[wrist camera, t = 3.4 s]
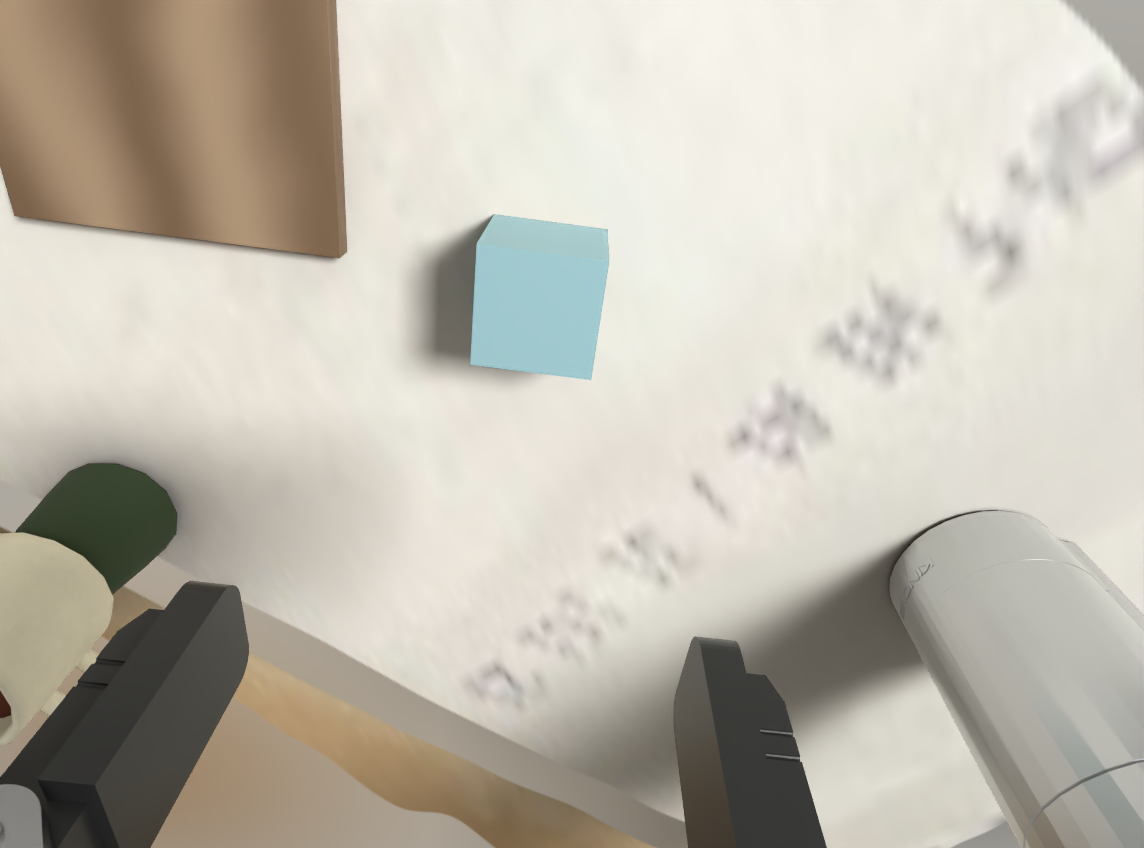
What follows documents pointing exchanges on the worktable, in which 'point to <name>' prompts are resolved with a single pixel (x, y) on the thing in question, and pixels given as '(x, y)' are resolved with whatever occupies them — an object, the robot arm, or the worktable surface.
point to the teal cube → (538, 296)
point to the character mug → (71, 580)
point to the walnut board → (176, 118)
